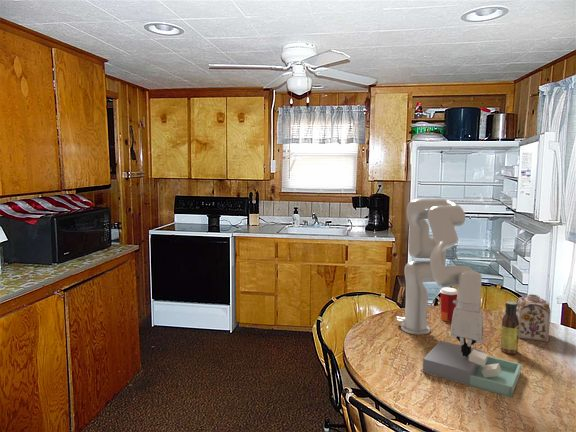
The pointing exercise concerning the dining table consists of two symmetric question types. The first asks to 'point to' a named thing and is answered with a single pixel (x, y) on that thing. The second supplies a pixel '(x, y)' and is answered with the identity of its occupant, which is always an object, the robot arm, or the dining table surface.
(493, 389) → the box
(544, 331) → the decorative jar
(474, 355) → the tile
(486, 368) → the tile
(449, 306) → the coffee cup
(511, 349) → the sauce bottle
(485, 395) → the dining table surface
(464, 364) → the slate block
